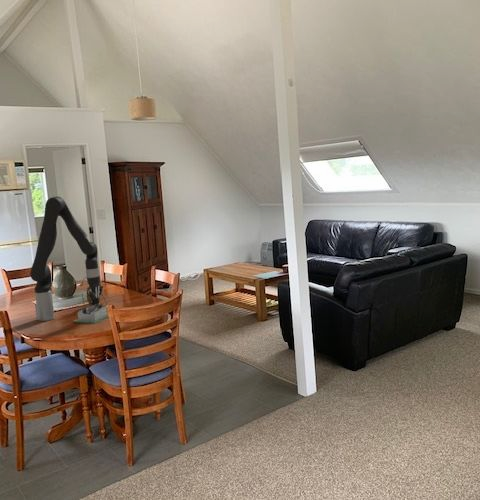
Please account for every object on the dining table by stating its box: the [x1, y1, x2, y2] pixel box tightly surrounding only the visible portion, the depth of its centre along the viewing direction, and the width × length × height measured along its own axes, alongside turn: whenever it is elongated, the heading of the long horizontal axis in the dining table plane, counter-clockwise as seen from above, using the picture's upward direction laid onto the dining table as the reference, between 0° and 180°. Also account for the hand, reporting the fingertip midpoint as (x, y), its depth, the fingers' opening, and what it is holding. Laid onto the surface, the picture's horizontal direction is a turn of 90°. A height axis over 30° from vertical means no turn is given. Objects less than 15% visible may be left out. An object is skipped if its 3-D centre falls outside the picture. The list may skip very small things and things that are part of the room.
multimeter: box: [81, 276, 108, 307], centre depth 319 cm, size 15×10×20 cm
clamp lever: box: [85, 301, 102, 313], centre depth 295 cm, size 12×3×2 cm, turn 158°
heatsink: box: [72, 303, 109, 324], centre depth 296 cm, size 16×19×7 cm
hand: (96, 303), depth 298 cm, fingers closed
